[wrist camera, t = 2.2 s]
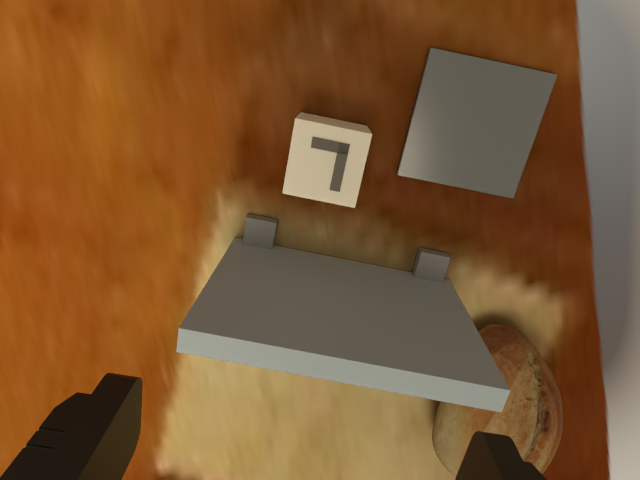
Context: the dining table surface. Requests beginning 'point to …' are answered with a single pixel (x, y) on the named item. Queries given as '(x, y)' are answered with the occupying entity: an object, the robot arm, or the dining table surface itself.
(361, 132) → the letter cube
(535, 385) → the bread roll
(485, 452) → the robot arm
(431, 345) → the screen
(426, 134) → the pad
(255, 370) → the dining table surface
